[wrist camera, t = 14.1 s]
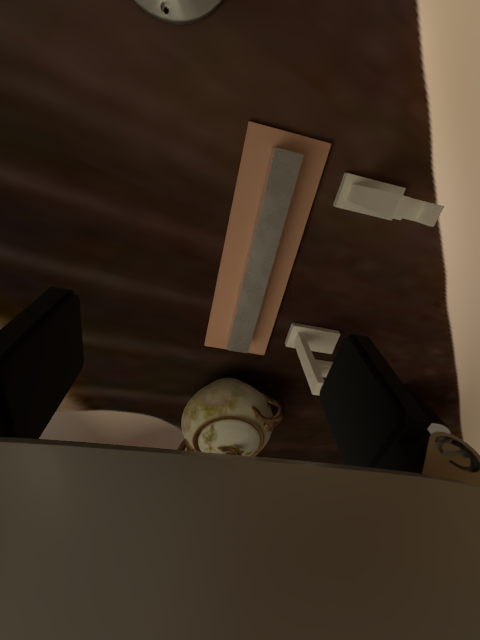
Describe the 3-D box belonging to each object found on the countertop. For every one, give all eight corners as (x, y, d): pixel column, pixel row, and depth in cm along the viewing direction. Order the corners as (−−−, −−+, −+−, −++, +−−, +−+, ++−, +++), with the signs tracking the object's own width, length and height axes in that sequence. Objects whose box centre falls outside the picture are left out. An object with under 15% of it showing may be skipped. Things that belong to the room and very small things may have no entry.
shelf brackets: (344, 172, 37) (396, 180, 26) (401, 187, 38) (475, 201, 27) (284, 343, 49) (302, 399, 38) (329, 350, 51) (359, 407, 39)
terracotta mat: (248, 121, 34) (248, 121, 34) (329, 143, 36) (331, 143, 35) (204, 342, 49) (204, 345, 48) (263, 352, 50) (264, 355, 50)
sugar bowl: (255, 342, 49) (266, 410, 36) (293, 399, 56) (314, 474, 43) (159, 390, 53) (137, 467, 40) (205, 438, 60) (199, 517, 47)
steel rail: (271, 148, 35) (275, 147, 32) (297, 154, 35) (303, 154, 33) (227, 338, 48) (227, 349, 45) (246, 341, 48) (247, 353, 45)
